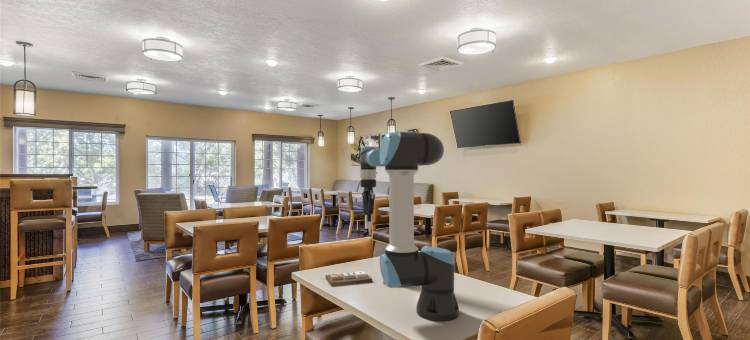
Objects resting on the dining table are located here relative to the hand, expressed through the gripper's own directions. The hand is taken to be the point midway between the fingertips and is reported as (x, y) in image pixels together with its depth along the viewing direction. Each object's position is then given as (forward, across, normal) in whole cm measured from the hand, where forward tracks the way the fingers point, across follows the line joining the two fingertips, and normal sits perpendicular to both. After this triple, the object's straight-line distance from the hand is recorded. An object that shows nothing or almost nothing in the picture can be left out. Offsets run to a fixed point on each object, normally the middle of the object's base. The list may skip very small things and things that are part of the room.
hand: (368, 228), depth 179 cm
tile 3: (+23, -3, +17) cm, 28 cm away
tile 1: (+23, -3, +5) cm, 23 cm away
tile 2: (+23, -3, +11) cm, 25 cm away
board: (+23, -3, +11) cm, 26 cm away
